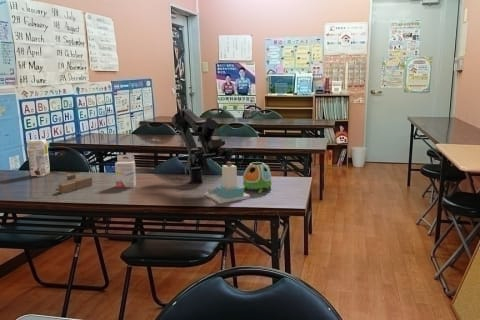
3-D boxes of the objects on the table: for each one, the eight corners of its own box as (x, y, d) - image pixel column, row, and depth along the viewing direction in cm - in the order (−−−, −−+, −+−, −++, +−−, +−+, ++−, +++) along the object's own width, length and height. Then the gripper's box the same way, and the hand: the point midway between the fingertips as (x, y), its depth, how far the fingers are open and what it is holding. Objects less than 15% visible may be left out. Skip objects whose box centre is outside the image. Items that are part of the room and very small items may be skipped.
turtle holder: (280, 185, 202) (280, 160, 199) (262, 194, 186) (262, 167, 184) (256, 182, 208) (256, 158, 206) (237, 191, 192) (237, 165, 190)
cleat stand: (205, 195, 187) (204, 184, 186) (233, 190, 193) (233, 180, 193) (220, 203, 175) (219, 191, 174) (250, 197, 182) (249, 187, 181)
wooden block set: (93, 174, 207) (61, 182, 192) (94, 186, 208) (62, 195, 193) (69, 171, 216) (36, 178, 200) (70, 182, 217) (38, 190, 201)
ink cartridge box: (115, 187, 202) (113, 156, 199) (118, 185, 207) (116, 154, 204) (134, 187, 202) (132, 156, 200) (136, 184, 207) (134, 154, 204)
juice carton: (45, 176, 228) (41, 140, 224) (29, 177, 228) (25, 141, 224) (51, 173, 235) (48, 138, 231) (36, 173, 235) (32, 139, 232)
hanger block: (222, 194, 183) (221, 161, 180) (231, 193, 185) (231, 160, 182) (227, 197, 179) (227, 163, 176) (237, 195, 181) (236, 162, 178)
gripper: (193, 133, 184) (205, 163, 177) (231, 130, 194) (244, 158, 186) (186, 149, 193) (197, 178, 185) (223, 145, 202) (235, 173, 195)
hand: (219, 171), depth 188 cm, fingers open, 9 cm apart
